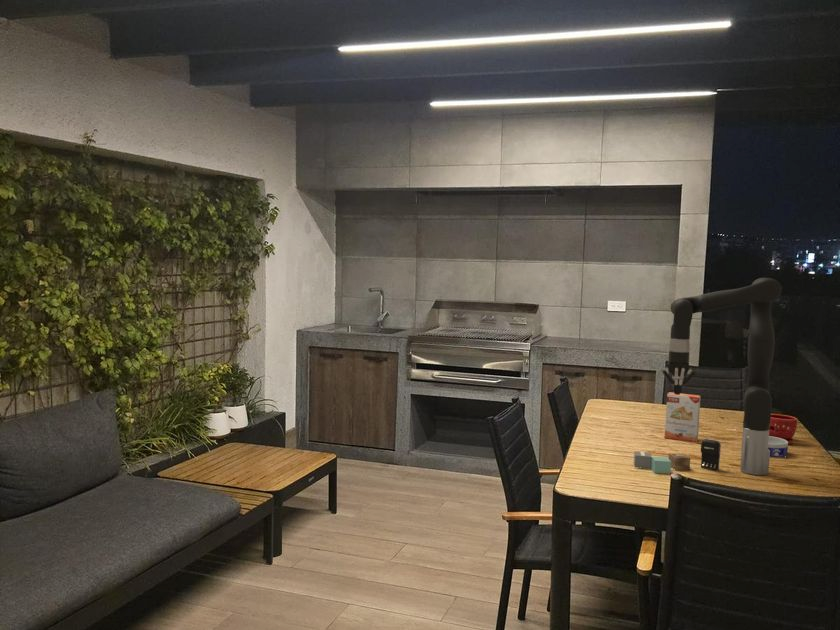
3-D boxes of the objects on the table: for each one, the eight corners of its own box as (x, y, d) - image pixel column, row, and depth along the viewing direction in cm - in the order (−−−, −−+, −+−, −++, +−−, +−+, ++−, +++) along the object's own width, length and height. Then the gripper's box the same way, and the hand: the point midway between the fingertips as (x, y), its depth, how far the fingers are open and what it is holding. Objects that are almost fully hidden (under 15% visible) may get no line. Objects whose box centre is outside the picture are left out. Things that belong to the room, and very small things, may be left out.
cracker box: (664, 438, 325) (666, 393, 323) (666, 435, 330) (668, 391, 328) (696, 442, 318) (699, 397, 316) (698, 440, 323) (700, 395, 322)
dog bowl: (765, 459, 295) (766, 444, 294) (739, 449, 309) (740, 435, 309) (795, 457, 299) (796, 443, 298) (768, 447, 313) (769, 434, 313)
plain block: (666, 469, 274) (667, 457, 274) (670, 474, 268) (671, 461, 268) (650, 469, 275) (651, 456, 275) (654, 473, 269) (654, 460, 269)
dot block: (682, 466, 280) (683, 453, 280) (689, 470, 274) (690, 457, 274) (668, 466, 280) (668, 453, 279) (674, 470, 274) (675, 457, 274)
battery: (698, 467, 278) (700, 439, 277) (701, 465, 281) (703, 437, 280) (716, 471, 274) (718, 442, 273) (720, 469, 277) (721, 440, 276)
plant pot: (799, 446, 316) (801, 420, 315) (768, 444, 319) (769, 418, 318) (790, 439, 329) (792, 414, 328) (760, 437, 332) (761, 412, 331)
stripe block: (649, 465, 280) (650, 452, 280) (650, 469, 275) (651, 456, 274) (633, 463, 282) (634, 451, 281) (634, 468, 276) (635, 454, 276)
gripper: (693, 349, 278) (691, 393, 279) (659, 348, 279) (657, 391, 280) (699, 352, 271) (697, 396, 272) (664, 350, 272) (662, 395, 273)
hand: (676, 394), depth 276 cm, fingers closed
